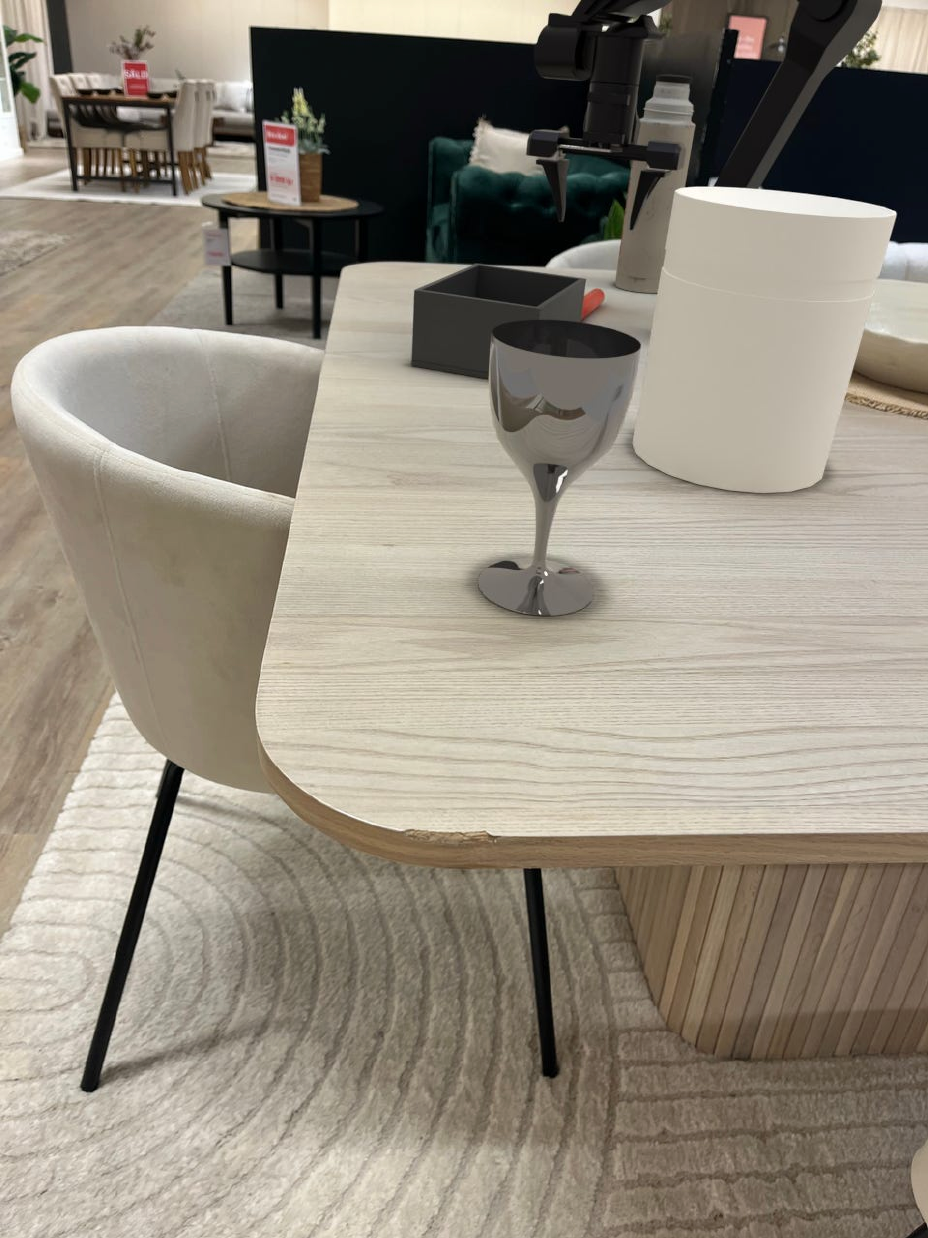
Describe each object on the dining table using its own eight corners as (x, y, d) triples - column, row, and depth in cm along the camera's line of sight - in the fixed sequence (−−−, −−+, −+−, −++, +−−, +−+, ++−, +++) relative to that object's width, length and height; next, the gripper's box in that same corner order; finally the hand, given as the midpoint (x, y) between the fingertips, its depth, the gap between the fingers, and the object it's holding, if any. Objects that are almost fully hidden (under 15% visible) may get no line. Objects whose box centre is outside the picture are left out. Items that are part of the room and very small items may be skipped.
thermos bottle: (605, 286, 140) (635, 71, 125) (629, 279, 146) (660, 73, 131) (653, 295, 136) (689, 75, 122) (675, 288, 142) (712, 77, 127)
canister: (800, 510, 70) (879, 224, 59) (603, 460, 76) (644, 194, 66) (840, 451, 82) (911, 206, 72) (667, 412, 88) (710, 182, 78)
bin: (471, 329, 111) (475, 263, 107) (577, 346, 107) (586, 278, 103) (411, 365, 96) (413, 289, 92) (532, 386, 92) (540, 308, 89)
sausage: (589, 302, 129) (591, 286, 128) (605, 304, 128) (607, 288, 127) (563, 322, 117) (565, 304, 116) (579, 325, 117) (582, 307, 116)
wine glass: (466, 555, 59) (483, 316, 52) (587, 557, 60) (622, 322, 53) (478, 618, 53) (500, 354, 45) (614, 620, 54) (659, 361, 46)
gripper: (702, 90, 113) (679, 227, 121) (556, 78, 118) (543, 210, 126) (689, 89, 104) (665, 237, 112) (531, 77, 109) (518, 219, 117)
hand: (596, 225), depth 117 cm, fingers open, 9 cm apart
